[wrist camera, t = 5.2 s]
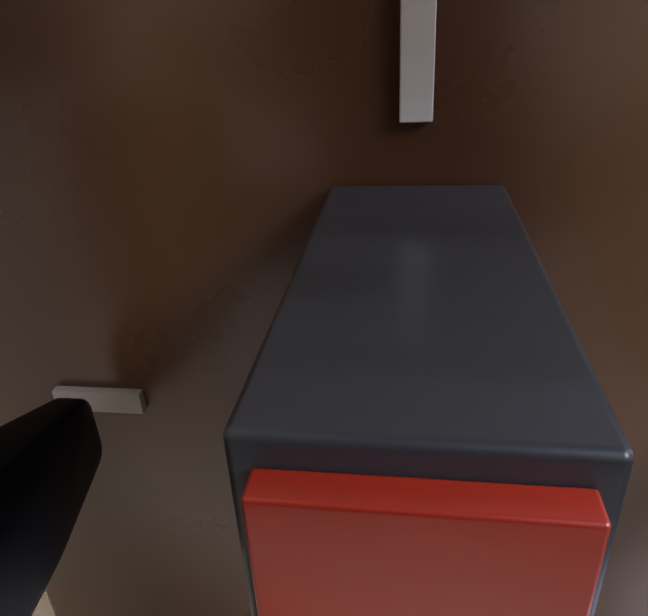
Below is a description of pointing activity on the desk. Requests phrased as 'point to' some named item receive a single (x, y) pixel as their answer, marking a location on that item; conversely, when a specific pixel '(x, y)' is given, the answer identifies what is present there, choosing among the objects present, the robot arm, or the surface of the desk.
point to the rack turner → (423, 422)
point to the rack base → (284, 229)
